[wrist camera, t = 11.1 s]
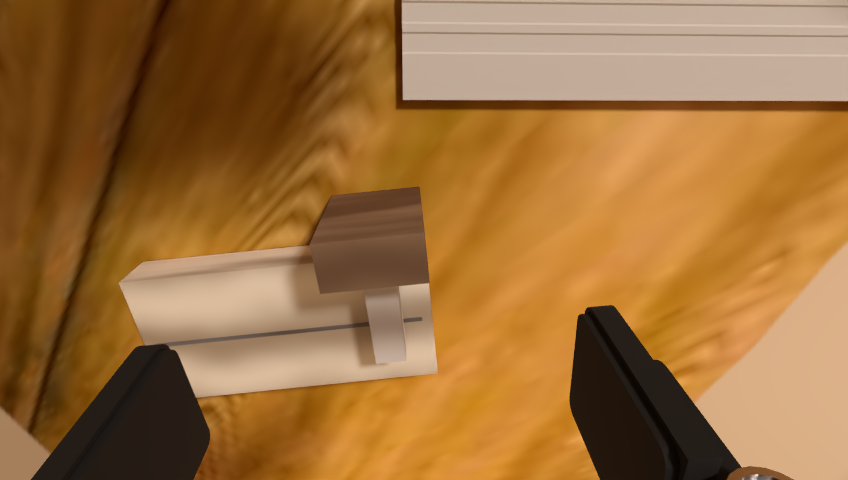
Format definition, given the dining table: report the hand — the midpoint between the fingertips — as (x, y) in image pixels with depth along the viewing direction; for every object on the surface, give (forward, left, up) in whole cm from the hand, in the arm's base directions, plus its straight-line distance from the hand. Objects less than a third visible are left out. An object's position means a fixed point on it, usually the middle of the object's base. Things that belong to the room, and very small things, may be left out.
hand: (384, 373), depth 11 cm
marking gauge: (+7, -2, -21) cm, 22 cm away
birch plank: (+11, -9, -21) cm, 25 cm away
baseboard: (-8, +17, -22) cm, 29 cm away
